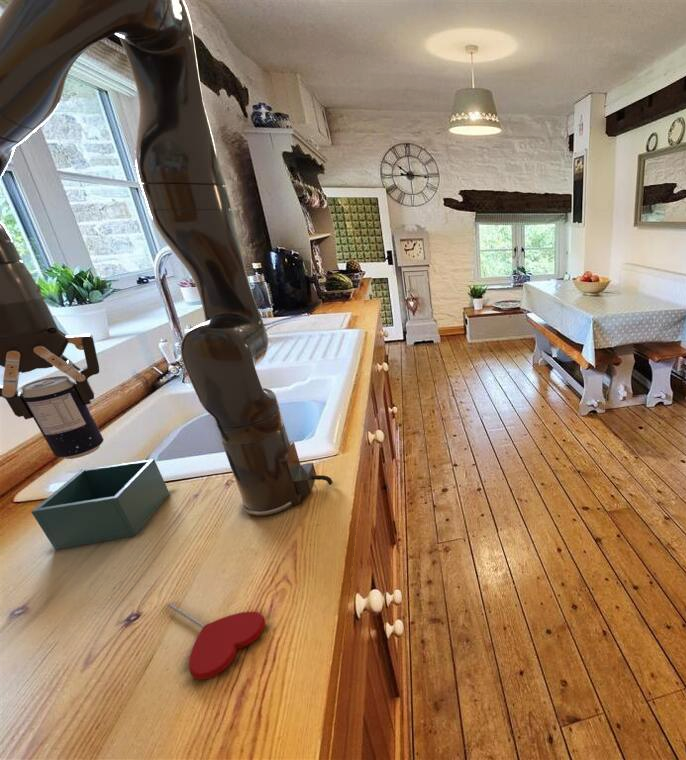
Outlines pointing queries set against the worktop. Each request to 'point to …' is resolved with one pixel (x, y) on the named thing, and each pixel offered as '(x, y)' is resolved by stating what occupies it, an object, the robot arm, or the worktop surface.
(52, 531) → the bin
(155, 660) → the worktop surface
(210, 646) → the lollipop
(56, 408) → the beverage can
